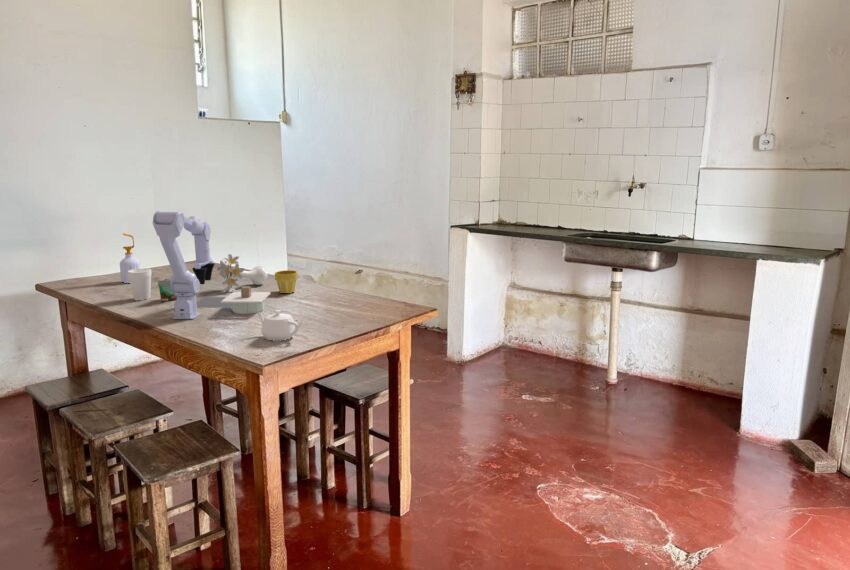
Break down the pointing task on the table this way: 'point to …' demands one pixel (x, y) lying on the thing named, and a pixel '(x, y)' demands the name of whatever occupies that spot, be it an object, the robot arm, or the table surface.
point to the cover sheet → (245, 300)
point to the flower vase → (240, 273)
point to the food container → (166, 291)
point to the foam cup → (140, 283)
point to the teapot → (278, 326)
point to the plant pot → (286, 280)
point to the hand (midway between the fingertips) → (204, 282)
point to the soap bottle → (128, 263)
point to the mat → (213, 302)
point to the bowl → (247, 307)
